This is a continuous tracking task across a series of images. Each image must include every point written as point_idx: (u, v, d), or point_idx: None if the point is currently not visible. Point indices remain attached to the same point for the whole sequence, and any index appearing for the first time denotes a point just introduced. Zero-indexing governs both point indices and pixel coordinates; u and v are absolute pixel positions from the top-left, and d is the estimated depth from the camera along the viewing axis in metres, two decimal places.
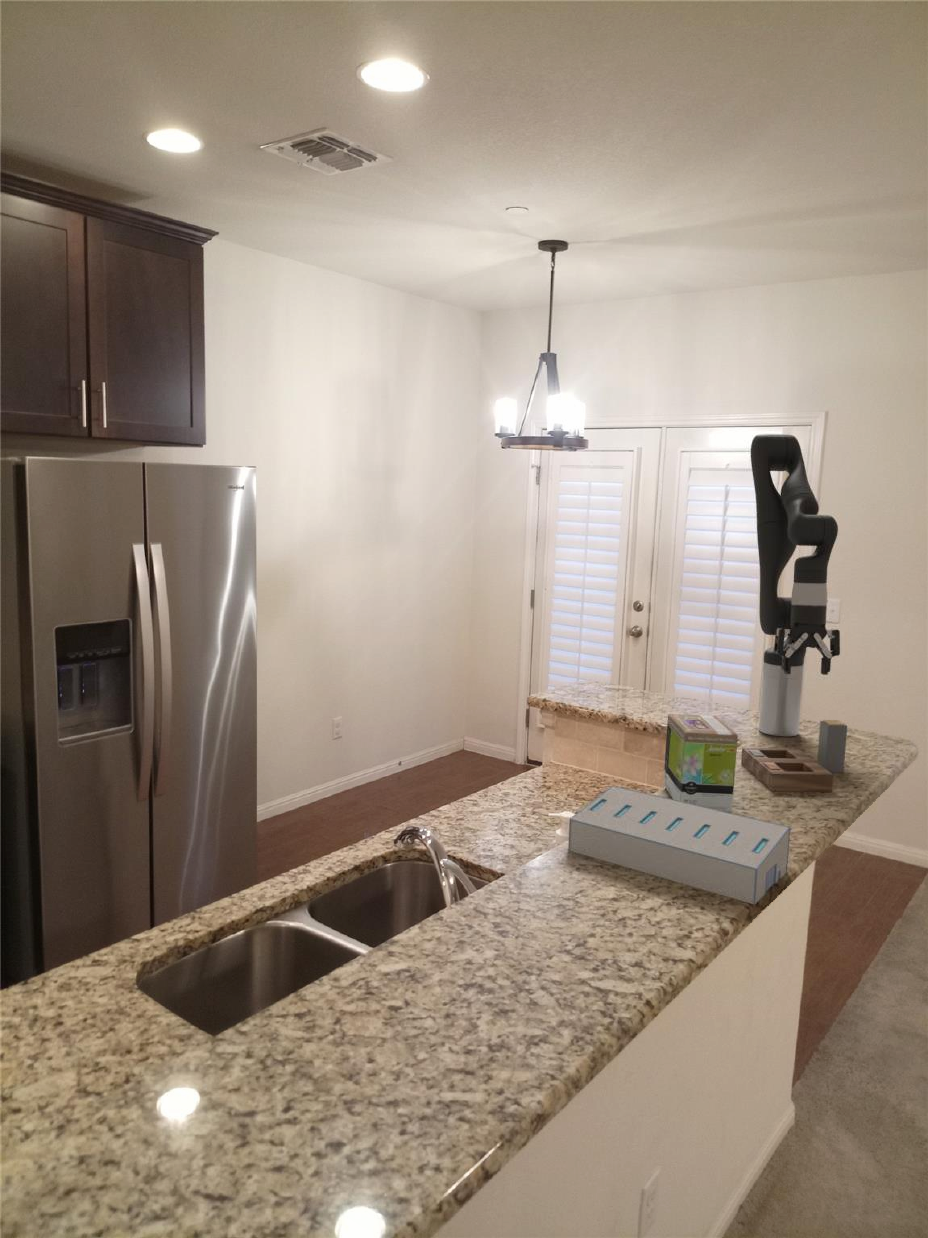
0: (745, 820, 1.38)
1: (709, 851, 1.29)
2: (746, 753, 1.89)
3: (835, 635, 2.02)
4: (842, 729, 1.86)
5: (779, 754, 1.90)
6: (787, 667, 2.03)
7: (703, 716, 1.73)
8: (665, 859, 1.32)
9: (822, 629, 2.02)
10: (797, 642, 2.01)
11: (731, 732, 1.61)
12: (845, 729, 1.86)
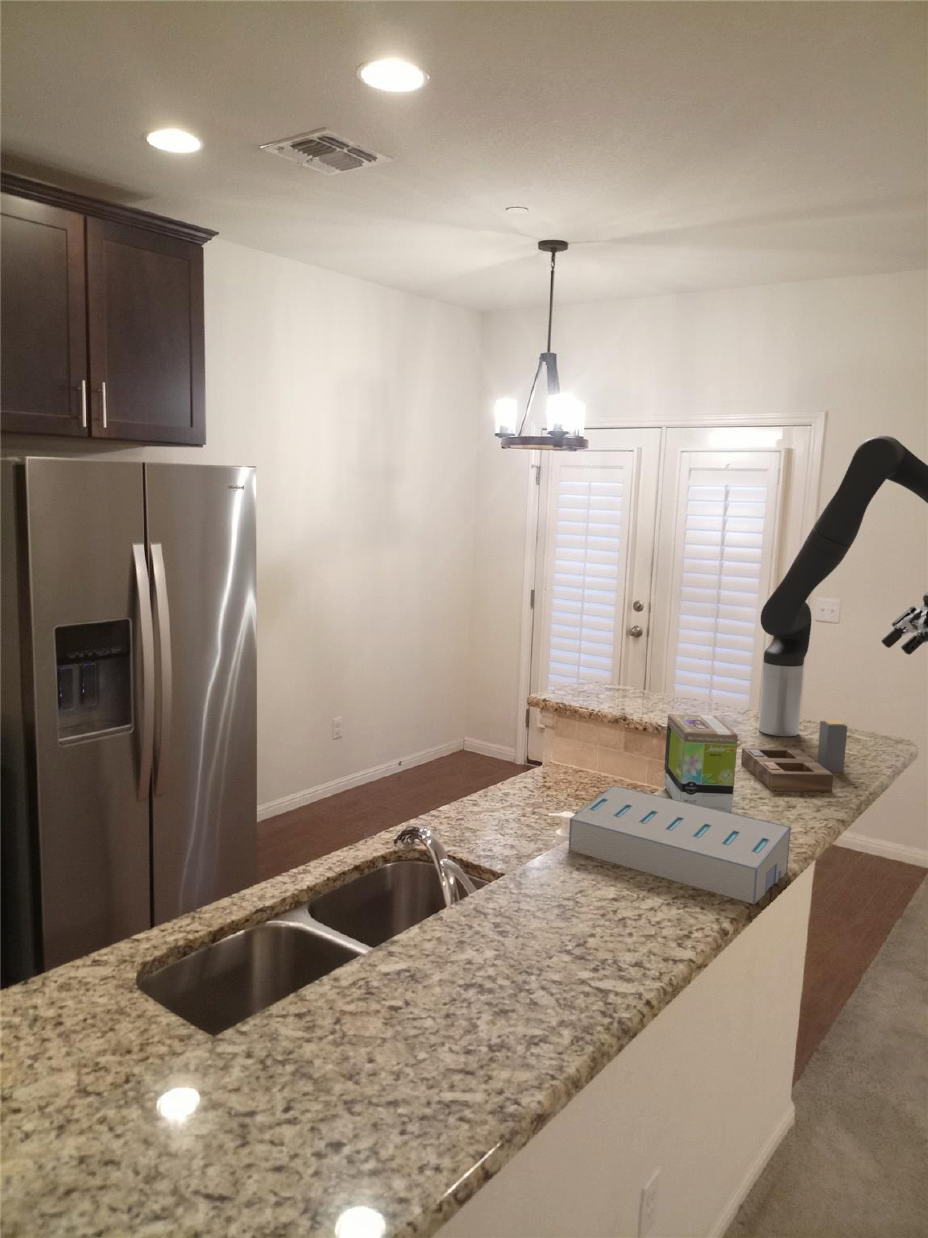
0: (745, 820, 1.38)
1: (709, 851, 1.29)
2: (746, 753, 1.89)
3: None
4: (842, 729, 1.86)
5: (779, 754, 1.90)
6: None
7: (703, 716, 1.73)
8: (665, 858, 1.32)
9: None
10: None
11: (731, 732, 1.61)
12: (845, 729, 1.86)
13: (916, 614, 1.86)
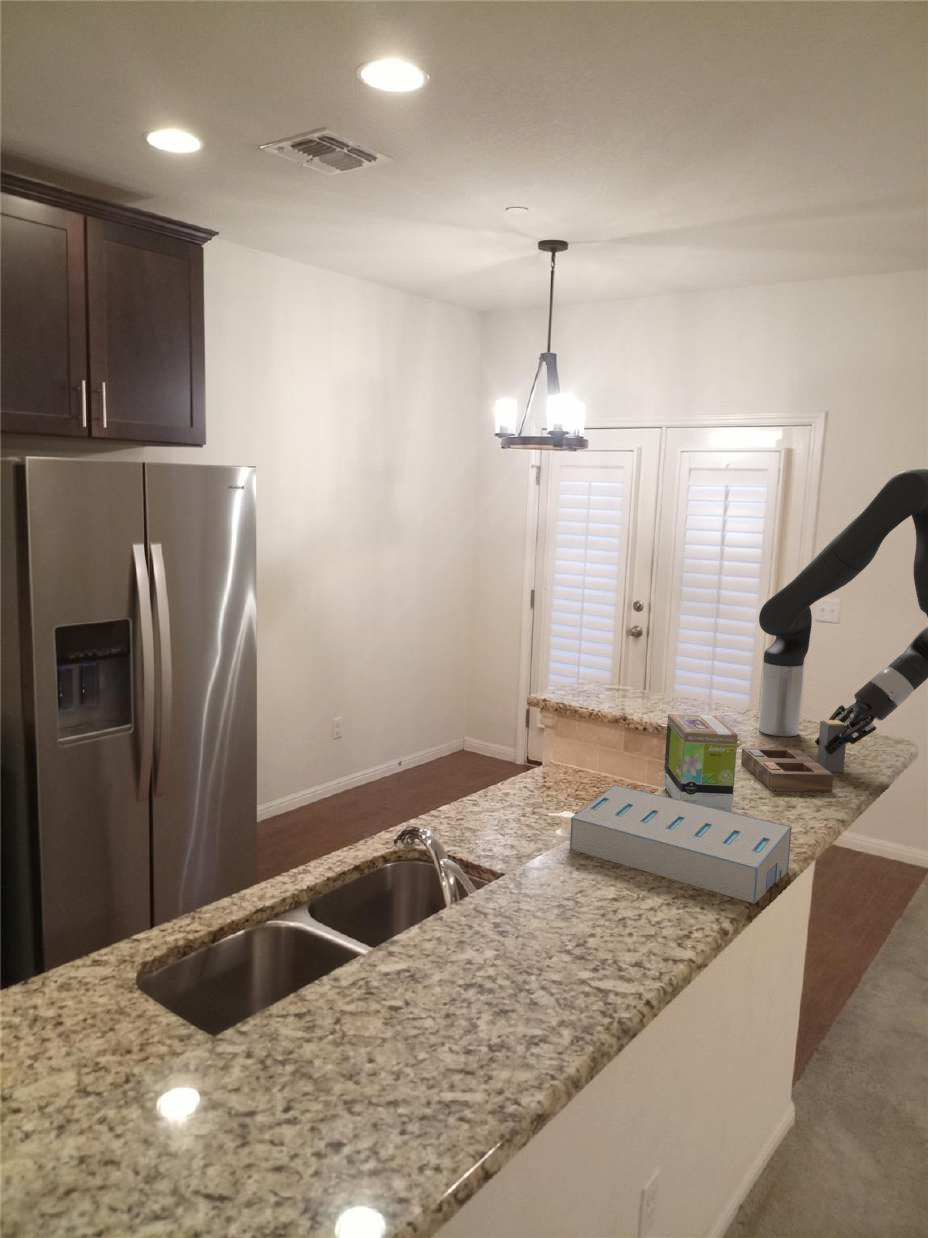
0: (746, 819, 1.38)
1: (710, 851, 1.30)
2: (746, 753, 1.89)
3: None
4: None
5: (779, 754, 1.90)
6: None
7: (703, 716, 1.73)
8: (666, 857, 1.33)
9: None
10: None
11: (731, 732, 1.61)
12: None
13: (848, 712, 1.89)
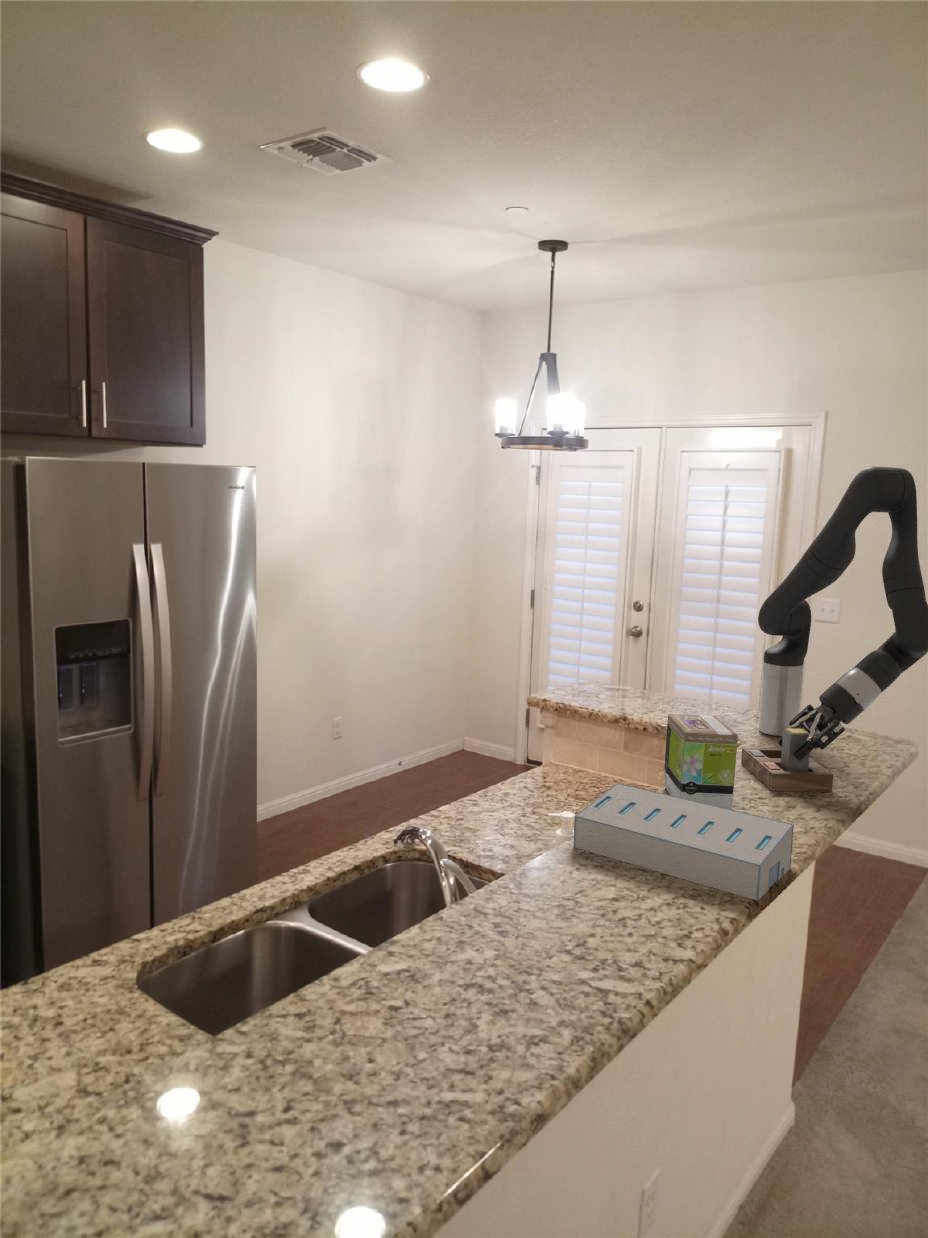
0: (748, 817, 1.39)
1: (713, 848, 1.31)
2: (746, 753, 1.89)
3: None
4: (806, 738, 1.75)
5: (779, 754, 1.90)
6: None
7: (703, 716, 1.73)
8: (669, 855, 1.34)
9: None
10: None
11: (731, 732, 1.61)
12: None
13: (812, 715, 1.78)
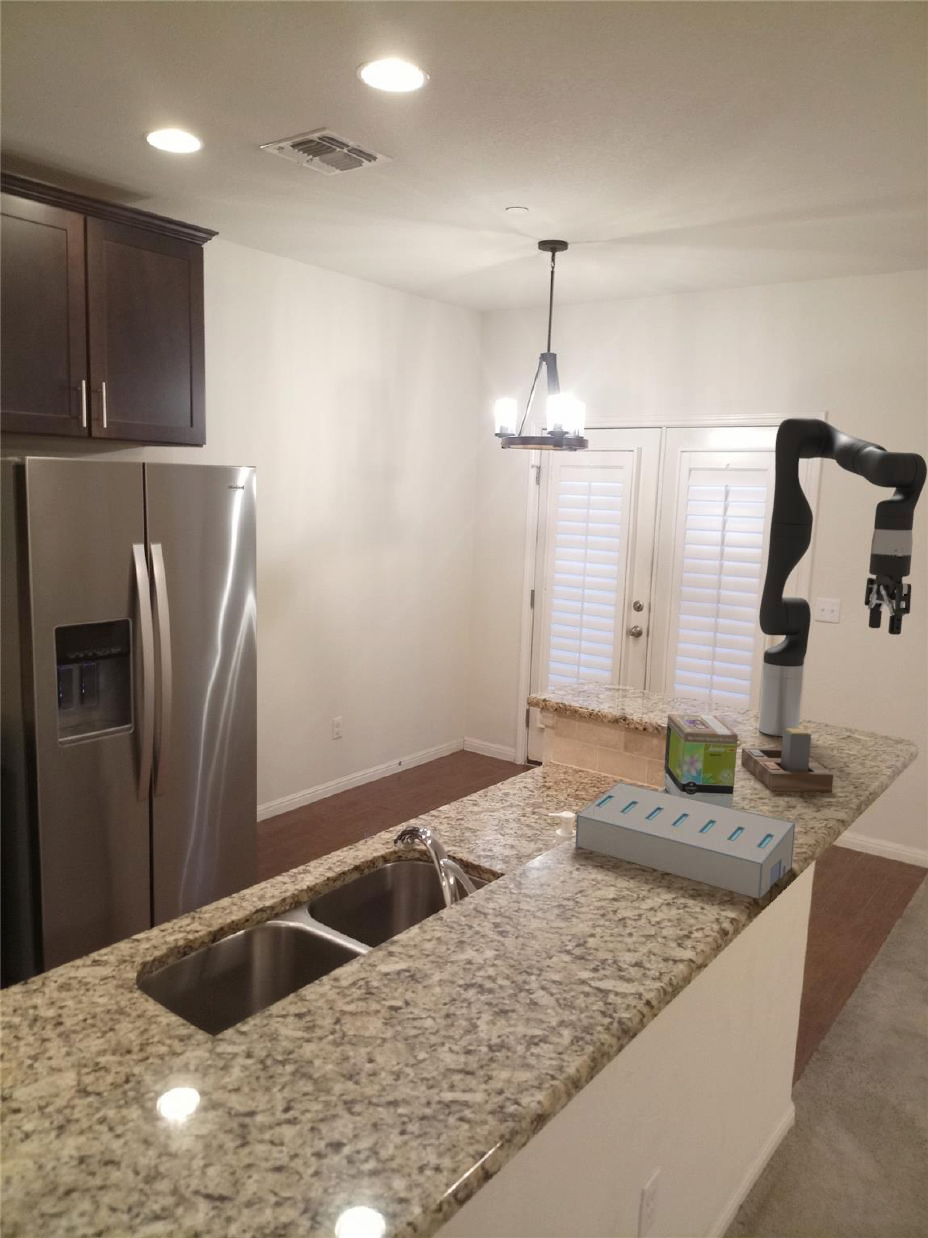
0: (750, 816, 1.40)
1: (715, 847, 1.31)
2: (746, 753, 1.89)
3: None
4: (806, 738, 1.75)
5: (779, 754, 1.90)
6: None
7: (703, 716, 1.73)
8: (671, 854, 1.34)
9: None
10: None
11: (731, 732, 1.61)
12: (809, 738, 1.75)
13: (876, 590, 1.83)
